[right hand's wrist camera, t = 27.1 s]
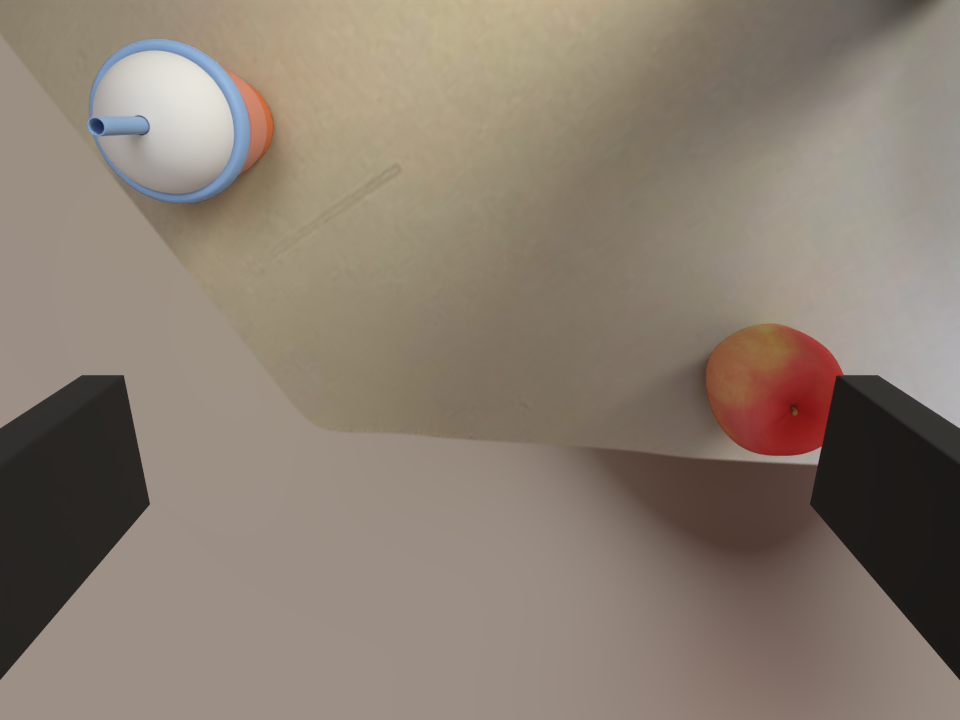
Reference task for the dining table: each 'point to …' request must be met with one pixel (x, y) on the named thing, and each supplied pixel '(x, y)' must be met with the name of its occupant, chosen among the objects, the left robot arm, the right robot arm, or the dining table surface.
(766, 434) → the apple
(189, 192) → the cup with straw
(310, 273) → the dining table surface
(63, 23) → the dining table surface
